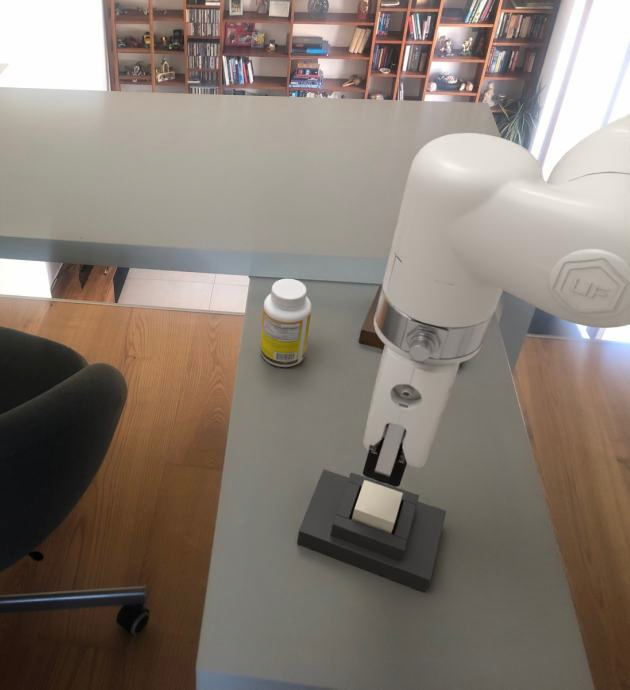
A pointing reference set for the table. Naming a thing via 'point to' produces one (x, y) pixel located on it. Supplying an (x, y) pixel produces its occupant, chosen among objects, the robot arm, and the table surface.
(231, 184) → the table surface
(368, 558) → the stepped wall plate
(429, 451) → the robot arm
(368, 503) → the near key
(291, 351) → the supplement bottle
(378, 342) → the brown stepped switch base
